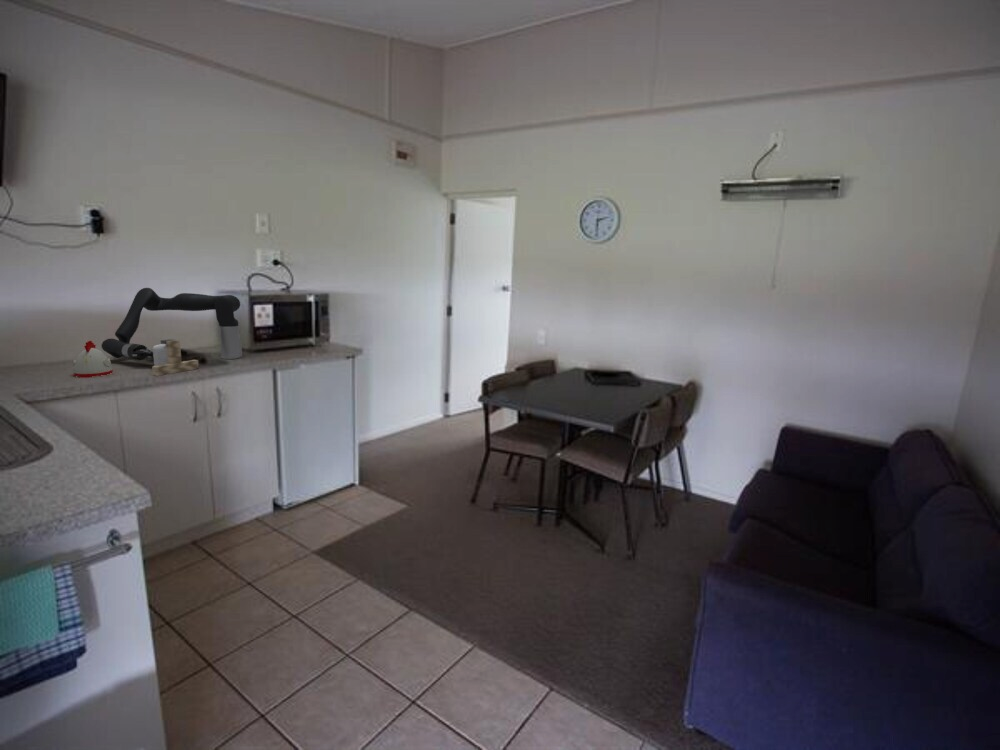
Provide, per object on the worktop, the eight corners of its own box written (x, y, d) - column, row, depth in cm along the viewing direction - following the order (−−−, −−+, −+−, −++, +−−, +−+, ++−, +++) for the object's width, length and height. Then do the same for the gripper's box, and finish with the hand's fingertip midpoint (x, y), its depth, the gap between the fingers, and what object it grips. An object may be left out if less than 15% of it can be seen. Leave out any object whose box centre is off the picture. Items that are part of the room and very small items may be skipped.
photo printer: (180, 369, 249) (177, 343, 247) (174, 371, 245) (171, 345, 243) (159, 368, 250) (156, 343, 247) (153, 370, 246) (150, 344, 243)
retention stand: (189, 366, 256) (186, 337, 253) (198, 368, 253) (196, 338, 250) (147, 374, 238) (143, 342, 235) (157, 375, 235) (153, 343, 232)
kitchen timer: (67, 378, 226) (62, 343, 223) (83, 371, 239) (78, 338, 236) (105, 377, 230) (101, 343, 227) (118, 370, 243) (114, 338, 240)
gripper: (119, 345, 248) (142, 349, 242) (147, 342, 260) (170, 345, 253) (121, 361, 250) (144, 365, 243) (149, 357, 262) (172, 360, 255)
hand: (157, 355), depth 248 cm, fingers closed
